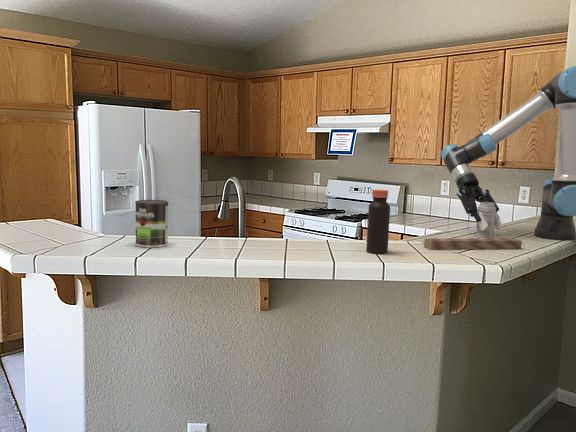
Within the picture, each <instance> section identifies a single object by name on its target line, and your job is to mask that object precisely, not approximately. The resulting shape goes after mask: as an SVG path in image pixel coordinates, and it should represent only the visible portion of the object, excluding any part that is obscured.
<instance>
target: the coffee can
mask: <svg viewBox="0 0 576 432" xmlns="http://www.w3.org/2000/svg"><path fill="white" fill-rule="evenodd" d="M134 203H135V246H136V247H138V248H147V249H149V248H151V249H152V248H153V249H154V248H155V249H156V248H163V247H167V246H168V244H169V242H168V241H169V201H167V200H162V199H139V200H136V201H135V202H134Z"/></svg>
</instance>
